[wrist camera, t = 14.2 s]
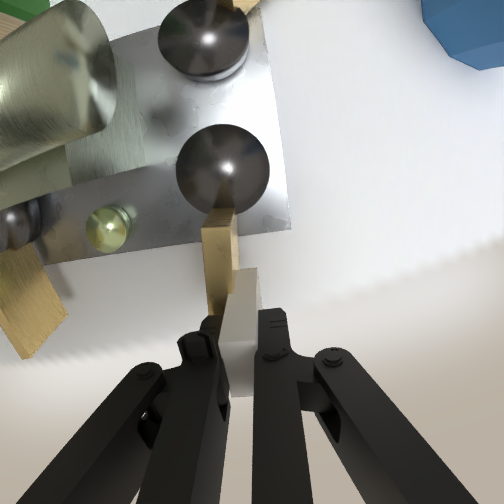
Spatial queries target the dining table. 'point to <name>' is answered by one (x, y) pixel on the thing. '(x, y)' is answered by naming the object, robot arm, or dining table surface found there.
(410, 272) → the dining table surface
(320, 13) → the dining table surface
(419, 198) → the dining table surface
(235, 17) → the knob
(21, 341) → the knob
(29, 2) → the hardback book
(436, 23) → the water bottle
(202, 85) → the base
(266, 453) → the robot arm
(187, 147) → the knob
